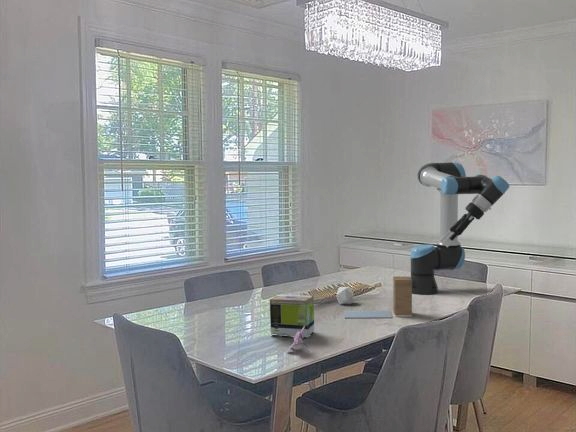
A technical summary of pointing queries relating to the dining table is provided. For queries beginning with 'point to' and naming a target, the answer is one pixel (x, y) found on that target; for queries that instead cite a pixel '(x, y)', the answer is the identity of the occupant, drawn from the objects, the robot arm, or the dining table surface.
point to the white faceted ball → (344, 295)
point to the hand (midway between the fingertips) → (442, 244)
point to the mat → (368, 314)
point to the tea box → (292, 314)
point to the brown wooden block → (402, 296)
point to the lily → (298, 338)
